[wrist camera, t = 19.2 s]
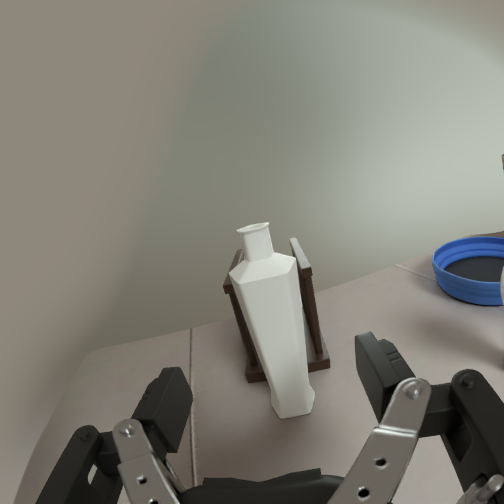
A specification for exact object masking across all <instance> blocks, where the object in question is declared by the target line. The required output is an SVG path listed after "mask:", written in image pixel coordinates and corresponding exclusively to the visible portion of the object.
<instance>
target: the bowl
mask: <svg viewBox="0 0 504 504" xmlns="http://www.w3.org/2000/svg"><path fill="white" fill-rule="evenodd" d="M432 265H433V269H434V272H435V274H436V279H437V282H438V284H439V286H440V287H441V288H442V289H443V290H444V291H445V292H446V293H448V294H449V295H451V296H453V297H455V298H457V299H460V300H463V301H466V302H470V303H474V304H480V305H503V302H502V298H501V292H500V280H501V274H502V270H503V267H504V238H500V237H469V238H463V239H458V240H454V241H451V242H449V243H446V244H444V245H442V246H441V247H439V248H438V249H437V250H436V251H435V252H434V254H433V256H432Z"/></svg>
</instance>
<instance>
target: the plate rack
mask: <svg viewBox="0 0 504 504" xmlns="http://www.w3.org/2000/svg"><path fill="white" fill-rule="evenodd" d="M289 241H290V245H291V248H292V253H293V257H295V258H296V263H297V271H298V279H299V287H300V294H301V299H302V305H303V307H302V314H303V323H304V333H305V344H306V354H307V366H308V373H309V372H314V371H318V370H323V369H327V368H330V358H329V355H328V352H327V349H326V346H325V343H324V340H323V337H322V334H321V331H320V328H319V321H318V315H317V308H316V302H315V296H314V290H313V284H312V279H311V276H312V269H311V266H310V264H309V262H308V260H307V258H306V257H305V255H304V253H303V251H302V249H301V247H300V245H299V243H298V241H297V240H296V238H290V239H289ZM243 260H244V252H243V249H240V250H237V252H236V255H235V257H234V259H233V262H232V264H231V267H230V269H229V272H230V271H231V270H233V269H234V268H235V267H236V266H237V265H238V264H240V263H241V262H242V261H243ZM229 272H228V274H227V277H226V279H225V282H224V284H223V288H224V291H225V294H228V293H229V296H230V299H231V302H232V306H233V309H234V313H235V316H236V320H237V323H238V326H239V330H240V333H241V337H242V340H243V343H244V346H245V350H246V353H247V365H246V374H245V375H246V378H247V381H248V383H252V382H259V381H265V380H267V378H266V375H265V373H264V370H263V367H262V365H261V362H260V359H259V357H258V354H257V351H256V348H255V346H254V343H253V340H252V338H251V335H250V332H249V329H248V327H247V324H246V321H245V318H244V315H243V313H242V310H241V307H240V304H239V301H238V299H237V296H236V293H235V290H234V287H233V284H232V281H231V278H230V276H229Z"/></svg>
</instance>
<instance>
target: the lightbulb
mask: <svg viewBox="0 0 504 504" xmlns="http://www.w3.org/2000/svg"><path fill="white" fill-rule="evenodd" d="M500 292H501V298H502V302H503V305H504V267H503V270H502V274H501V280H500Z"/></svg>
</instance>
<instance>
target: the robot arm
mask: <svg viewBox="0 0 504 504" xmlns="http://www.w3.org/2000/svg"><path fill="white" fill-rule="evenodd" d="M355 353H356V367H357V371H358V375H359V377H360V380H361V382H362V384H363V387H364V389H365V391H366V394H367V396H368V398H369V401H370V403H371V406H372V408H373V411H374V413H375V415H376V418H377V420H378V423H379V426H378V427H375V428H374V429H373V430H372V432H371V434H370V436H369V438H368V439H367V441H366V443H365V445H364V447H363V448H362V450H361V452H360V454H359V455H358V457H357V459H356V461H355V462H354V464H353V465H352V467H351V469H350V470H349V472H348V474H347V475H346V477H345V478H344V477H340V476H334V475H321V469H320V468H317V469H312V470H306V471H300V472H294V473H289V474H286V475H283V476H280V477H277V478H273V479H270V480H267V481H263V482H254V481H247V480H241V479H235V478H204V480H203V485H200V486H196V487H193V488H190V489H187V490H186V489H185V487H184V486H183V485H182V483H181V481H180V480H179V478H178V477H177V475H176V473H175V472H174V470H173V468H172V467H171V465H170V463H169V461H168V460H167V458H166V454H167V453H177V451H178V447H179V444H180V441H181V438H182V434H183V431H184V428H185V425H186V422H187V418H188V415H189V412H190V409H191V406H192V402H193V395H192V391H191V389H190V387H189V385H188V382H187V380H186V378H185V376H184V374H183V372H182V370H181V368H180V367H169V368H163V369H162V371H161V373H160V375H159V377H158V378H155V379H154V380H153V381H152V382H151V383H150V384H149V385H148V387H147V389H146V390H145V394H143V396H142V400H140V402H139V404H138V406H137V408H136V409H135V411H134V413H133V415H132V417H131V419H126V420H123V421H121V422H119V423H118V424H117V425H116V426H115V427H114V429H113V431H110V432H104V433H99V432H98V430H97V429H96V428H95V427H94V426H91V425H86V426H82V427H80V428H79V429H77V430H76V431H75V433H74V434H73V436H72V438H71V439H70V441H69V443H68V444H67V446H66V448H65V450H64V451H63V453H62V455H61V457H60V458H59V460H58V462H57V464H56V466H55V467H54V469H53V471H52V473H51V475H50V477H49V478H48V480H47V482H46V484H45V486H44V488H43V490H42V492H41V494H40V496H39V498H38V500H37V502H36V504H117V502H118V499H119V496H120V493H121V490H122V487H123V485H124V488H125V490H126V493H127V495H128V498H129V500H130V503H131V504H393V503H391V501H392V499H393V498H394V496H395V494H396V492H397V490H398V487H399V485H400V483H401V481H402V479H403V476H404V474H405V472H406V469H407V467H408V465H409V462H410V460H411V457H412V455H413V452H414V450H415V447H416V445H417V442H418V439H419V438H422V437H429V436H436V435H440V437H441V439H442V441H443V443H444V445H445V448H446V450H447V452H448V454H449V457H450V459H451V461H452V464H453V466H454V469H455V471H456V474H457V476H458V479H459V481H460V484H461V486H462V489H463V492H464V494H463V495H462V496H461V498H460V499H459V500H458V502H457V504H504V403H503V402H502V400H501V399H500V398H499V396H498V395H497V394H496V392H495V391H494V390H493V388H492V387H491V386H490V384H489V383H488V382H487V381H486V379H485V378H484V377H483V375H482V374H481V373H479V372H478V371H476V370H472V369H465V370H462V371H459V372H458V373H456V374H455V375H454V376H453V378H452V381H451V383H445V384H439V385H430V384H429V383H428V382H427V381H426V380H424V379H422V378H416V376H415V375H414V373H413V372H412V371H411V369H410V368H409V366H408V365H407V363H406V362H405V360H404V359H403V358H402V356H401V355H400V353H399V352H398V350H397V349H396V347H395V346H394V345H393V343H391V342H389V341H387V340H385V339H383V340H379V341H377V339H376V338H375V336H374V335H373V333H372V332H368V333H364V334H360V335H357V336H355ZM93 464H94V465H95V466H96V467H97V471H96V473H95V475H94V477H93V480H92V482H91V484H89V482H88V474H89V472H90V470H91V467H92V465H93Z"/></svg>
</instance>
